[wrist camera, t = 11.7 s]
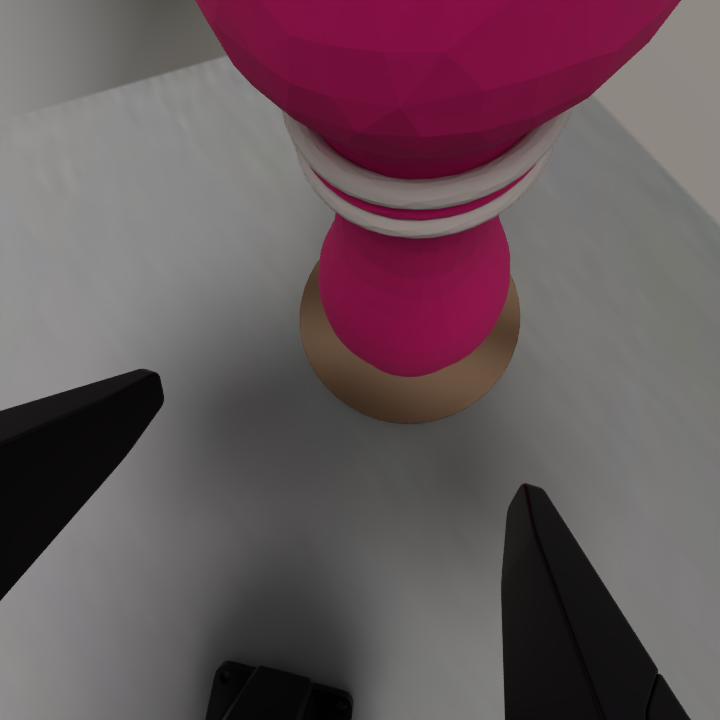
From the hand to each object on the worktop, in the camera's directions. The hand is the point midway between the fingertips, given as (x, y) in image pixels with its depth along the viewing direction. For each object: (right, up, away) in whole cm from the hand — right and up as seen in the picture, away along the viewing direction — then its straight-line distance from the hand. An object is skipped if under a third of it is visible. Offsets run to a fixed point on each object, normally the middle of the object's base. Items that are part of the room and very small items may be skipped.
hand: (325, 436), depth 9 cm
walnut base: (+3, +4, +12) cm, 13 cm away
